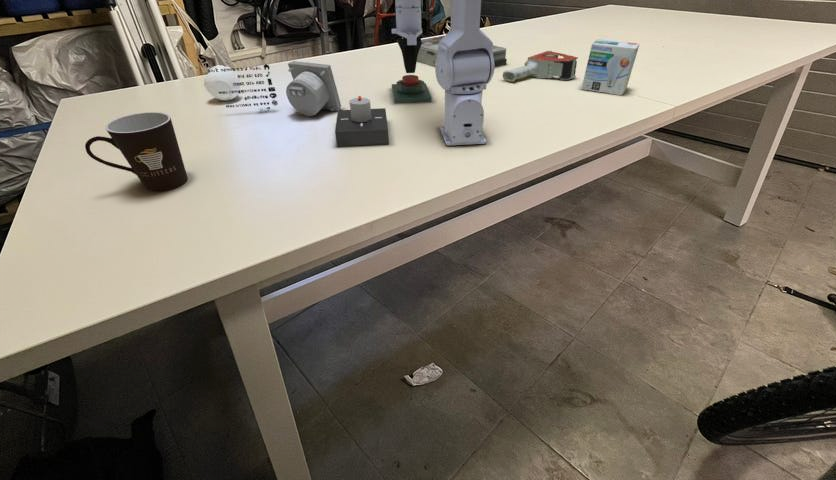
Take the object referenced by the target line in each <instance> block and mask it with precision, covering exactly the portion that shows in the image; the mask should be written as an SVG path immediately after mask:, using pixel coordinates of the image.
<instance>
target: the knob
mask: <svg viewBox="0 0 836 480" xmlns="http://www.w3.org/2000/svg"><path fill="white" fill-rule="evenodd" d="M348 102H349V110H351V118H352V121H354V122H367V121H370V120H371V119H372V117H371V109H372V106H371V100H370V99H369V98H367V97H362V96H361V95H358V96H357V97H355V98H351V99H349V101H348Z"/></svg>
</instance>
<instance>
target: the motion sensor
mask: <svg viewBox="0 0 836 480" xmlns="http://www.w3.org/2000/svg"><path fill="white" fill-rule="evenodd" d="M215 68H217V69H218V70H217V71H218V72H217V71H216V69H215ZM214 69H215V72H214ZM221 69H223V71H224V69H230V70H229V71H228V70H225V71H226V72H223V71H222V70H221ZM231 69H232V67H230V66H228V65H226V66H224V65H223V64H219V65H218V64H217V65H214V66H212V67H210V68H209V69H208V70H210V73H209V72H207V74H206V76H205V78H204V81H203V83H204V84H203V85H204V88H205V90H206V91H207V92H208V94H209V95H210V96H211V97H213V98H215V99H217V100H219V101H231V100H233V99H235V98H236V97H237V96H238V95H239V94H240V93H239V92H238V93H236V92H237V91H239V90H240V91H241V84H240V85H238V86H237V83H240V78H238V75H239V74H237V72H236V71H233V70H232V71H231ZM211 70H213V71H212V72H211ZM221 71H222V72H221ZM236 82H237V83H236ZM233 83H236V86H234V85H235V84H234V85H233ZM229 90H230V91H231V93H230V91H229ZM225 91H227V94H226V92H225ZM232 91H233V92H234V91H235V92H234V93H232ZM218 92H223V93H224V92H225V94H223V93H221V94H220V93H218ZM229 93H230V94H229Z"/></svg>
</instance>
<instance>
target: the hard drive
mask: <svg viewBox="0 0 836 480" xmlns="http://www.w3.org/2000/svg"><path fill="white" fill-rule="evenodd" d="M444 36H445V35H440V36H435V37H428V38H421V41H422V45H421V47H420V49H419V52H418V56H417V62H419V63H422V64H426V65H429V66H432V67H435V65H436V60H437V55H438V44H439V42H440V41H441V40H442V38H443V37H444ZM467 50H470V49H467ZM459 51H460V50H459ZM506 56H507V48H506V47H502V46H498V45H494V44H493V58H494V65H495V67H494V69H495V68H499V67H503V66H506V65H507V61H508V59H507V58H506Z"/></svg>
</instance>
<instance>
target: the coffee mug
mask: <svg viewBox="0 0 836 480" xmlns="http://www.w3.org/2000/svg"><path fill="white" fill-rule="evenodd" d="M105 130H106V132H107V134H108V135H109V136H110V137H108V136H102V135H101V136H99V135H98V136H93V137H91V138H88V140H87V141H86V142H85V144H84V148H85V151H86V154H87V155H88V156H89V157H90V158H92V160H95V161H96V162H98V163H101V164H103V165H106V166H107V167H112V168H116V169H119V170H122V171H126V172H130V173H132V174H134V175H135V176H137V178H138V180H139V181H140V182H141V184H142V186H143V187H144V188H145V190H147V191H149V192H154V193H156V192H157V193H158V192H159V193H160V192H168V191H171V190H175V189H177V188H179V187H181V186H183V185H184V184H186V183H187V182H188V178H189V177H188V174H187V171H186V167H185V163H184V160H183V157H182V153H181V150H180V146H179V142H178V138H177V135H176V131H175V127H174V124H173V121H172V117H171V115H169V114H168V113H166V112H159V111H148V112H137V113H132V114H128V115H124V116H121V117H117V118H115V119H113V120H111V121H109V122H108V123H107V124H105ZM98 141H99V142H105V143H108V144H111V145H112V147H114V148H116V149H118V150H119V151H120V153H121V154H122V156H123V157H124V159H125V160H126V162H127V163H128V165H129V166H130V167H129V166H126V165H122V164H118V163H114V162H111V161H107V160H105V159H102V158H100V157H98V156H97V155H95V154H94V153H93V152H92V150H91V145H92V144H93V143H96V142H98Z"/></svg>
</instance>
